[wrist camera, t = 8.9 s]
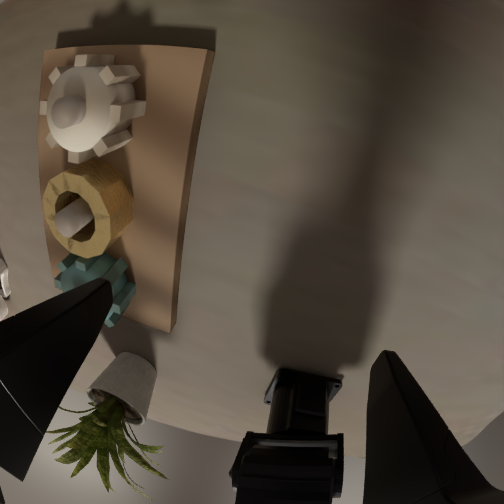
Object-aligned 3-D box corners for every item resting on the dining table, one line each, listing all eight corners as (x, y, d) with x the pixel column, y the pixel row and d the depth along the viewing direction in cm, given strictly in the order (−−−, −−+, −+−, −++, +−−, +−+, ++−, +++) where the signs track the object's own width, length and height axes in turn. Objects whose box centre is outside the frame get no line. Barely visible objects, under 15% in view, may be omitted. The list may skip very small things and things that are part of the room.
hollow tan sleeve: (132, 245, 21) (112, 267, 19) (71, 225, 22) (48, 244, 19) (135, 167, 18) (110, 182, 16) (68, 154, 18) (40, 166, 16)
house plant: (146, 409, 38) (105, 502, 24) (71, 347, 34) (10, 441, 20) (214, 394, 32) (172, 523, 18) (121, 313, 28) (34, 449, 14)
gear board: (175, 322, 27) (152, 367, 22) (63, 279, 27) (32, 312, 23) (215, 51, 15) (178, 40, 10) (57, 49, 16) (4, 53, 11)
